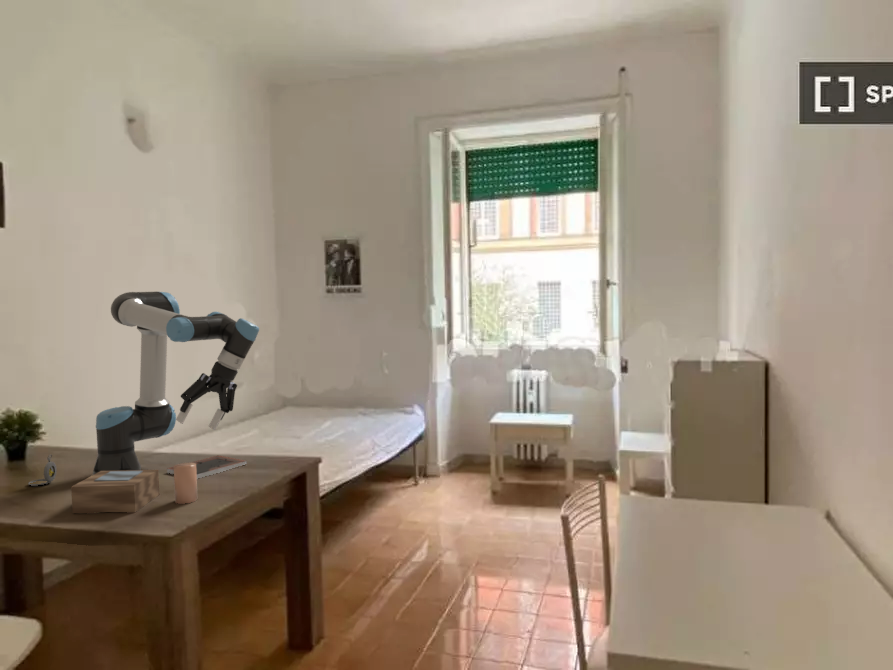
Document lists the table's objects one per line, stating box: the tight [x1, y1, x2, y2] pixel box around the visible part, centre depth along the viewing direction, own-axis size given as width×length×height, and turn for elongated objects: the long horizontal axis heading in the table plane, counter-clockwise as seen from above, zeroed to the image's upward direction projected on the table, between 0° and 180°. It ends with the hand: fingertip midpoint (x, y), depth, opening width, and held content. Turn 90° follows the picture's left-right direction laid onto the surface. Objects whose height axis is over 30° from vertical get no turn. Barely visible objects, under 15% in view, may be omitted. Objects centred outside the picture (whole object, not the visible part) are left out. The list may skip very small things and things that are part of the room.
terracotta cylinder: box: [173, 462, 199, 505], centre depth 200 cm, size 6×6×11 cm
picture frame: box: [166, 455, 248, 480], centre depth 237 cm, size 16×2×22 cm
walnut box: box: [70, 469, 160, 514], centre depth 198 cm, size 17×18×8 cm
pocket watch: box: [27, 454, 58, 487], centre depth 220 cm, size 8×8×10 cm
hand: (195, 425), depth 207 cm, fingers open, 13 cm apart
